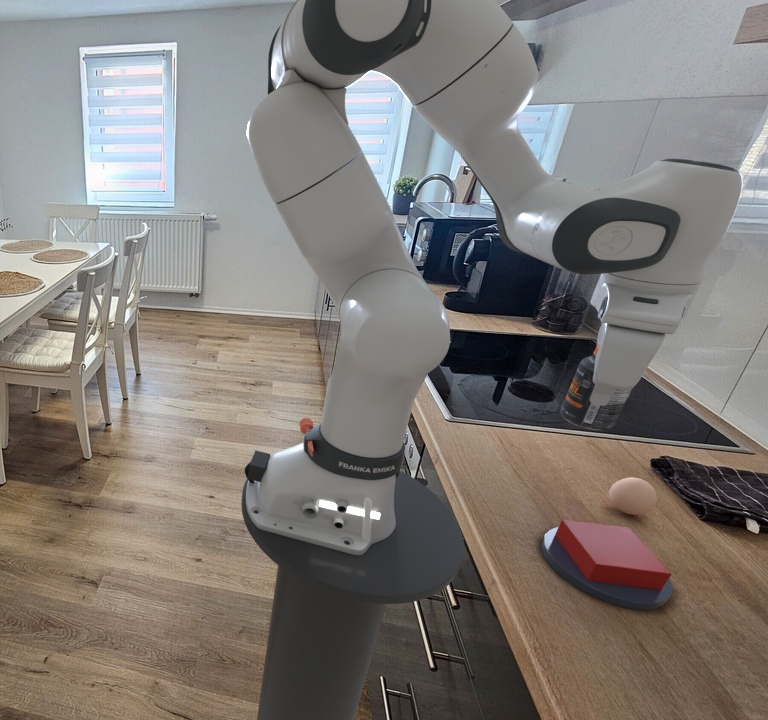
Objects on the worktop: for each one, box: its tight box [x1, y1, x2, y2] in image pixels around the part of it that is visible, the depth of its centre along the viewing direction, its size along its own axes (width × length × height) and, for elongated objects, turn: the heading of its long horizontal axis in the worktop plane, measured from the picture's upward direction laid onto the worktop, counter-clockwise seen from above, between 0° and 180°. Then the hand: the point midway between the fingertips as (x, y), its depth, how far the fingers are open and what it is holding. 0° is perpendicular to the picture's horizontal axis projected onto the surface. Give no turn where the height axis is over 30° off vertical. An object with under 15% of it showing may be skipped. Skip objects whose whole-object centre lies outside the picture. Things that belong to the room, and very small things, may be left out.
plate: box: [540, 526, 674, 611], centre depth 67 cm, size 13×13×1 cm
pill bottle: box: [559, 344, 633, 431], centre depth 68 cm, size 6×6×11 cm
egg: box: [608, 476, 658, 516], centre depth 75 cm, size 5×5×6 cm
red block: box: [555, 519, 672, 590], centre depth 66 cm, size 8×8×3 cm
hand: (598, 392), depth 69 cm, fingers closed on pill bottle, 6 cm apart
